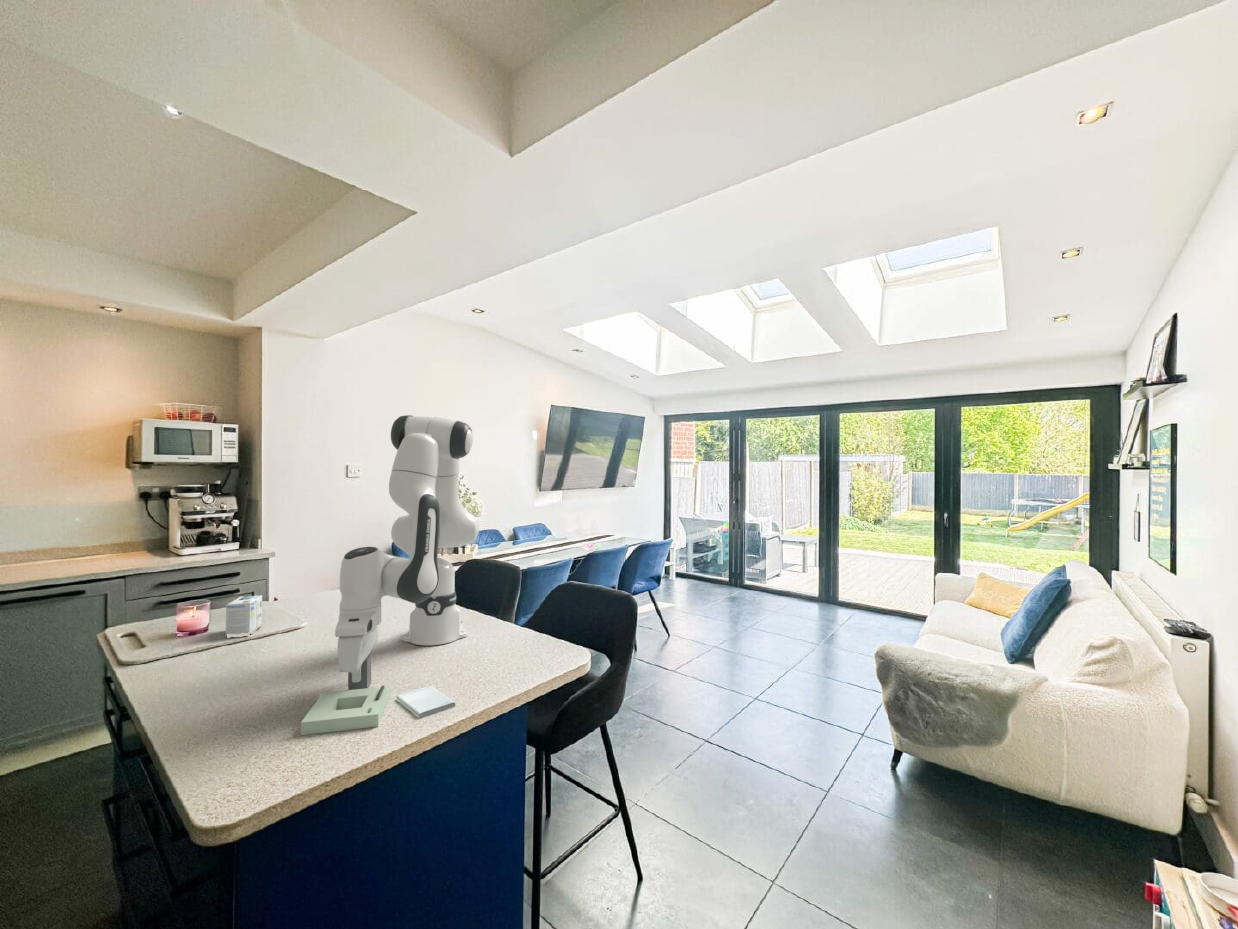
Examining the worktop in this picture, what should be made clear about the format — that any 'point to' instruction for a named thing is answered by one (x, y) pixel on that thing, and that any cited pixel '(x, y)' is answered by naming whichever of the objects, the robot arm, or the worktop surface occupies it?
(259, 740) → the worktop surface
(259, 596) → the light bulb box
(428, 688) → the hard drive
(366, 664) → the plug
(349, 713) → the outlet plate
